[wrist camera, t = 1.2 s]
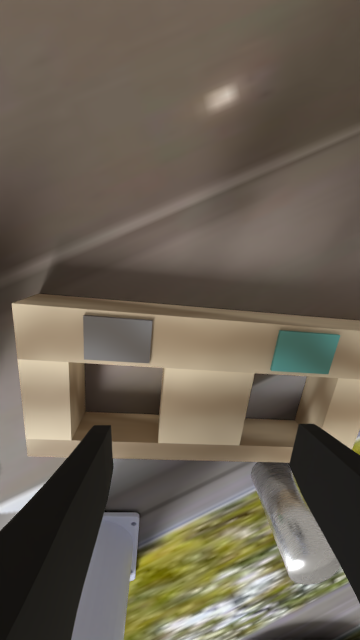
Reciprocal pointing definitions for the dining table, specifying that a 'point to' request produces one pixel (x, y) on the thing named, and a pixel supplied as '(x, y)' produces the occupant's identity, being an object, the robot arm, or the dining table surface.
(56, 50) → the dining table surface
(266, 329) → the socket block
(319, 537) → the steel peg
